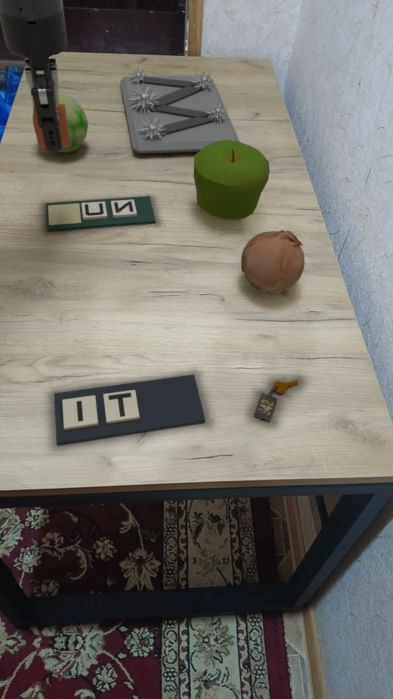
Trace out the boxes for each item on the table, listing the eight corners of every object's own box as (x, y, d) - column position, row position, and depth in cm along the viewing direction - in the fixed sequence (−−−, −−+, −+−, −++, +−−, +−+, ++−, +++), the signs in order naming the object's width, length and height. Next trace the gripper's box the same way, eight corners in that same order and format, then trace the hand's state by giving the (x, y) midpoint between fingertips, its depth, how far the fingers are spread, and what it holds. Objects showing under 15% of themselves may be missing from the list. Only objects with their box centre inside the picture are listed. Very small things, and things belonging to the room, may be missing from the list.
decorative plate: (240, 154, 99) (246, 120, 93) (133, 158, 95) (132, 122, 90) (211, 84, 116) (214, 51, 111) (120, 85, 113) (118, 51, 107)
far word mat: (47, 231, 81) (46, 225, 80) (46, 205, 85) (44, 199, 84) (155, 223, 84) (155, 217, 83) (149, 198, 88) (149, 192, 87)
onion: (275, 282, 81) (305, 228, 76) (292, 313, 74) (327, 256, 69) (224, 266, 78) (252, 208, 73) (237, 296, 71) (270, 234, 66)
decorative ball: (36, 162, 92) (25, 110, 84) (40, 134, 98) (30, 82, 90) (89, 163, 93) (83, 111, 85) (91, 135, 99) (85, 84, 91)
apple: (190, 228, 84) (194, 169, 75) (191, 186, 91) (195, 127, 82) (262, 232, 84) (275, 174, 75) (258, 190, 92) (269, 132, 83)
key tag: (267, 424, 61) (268, 422, 61) (247, 411, 62) (248, 409, 62) (299, 381, 66) (300, 379, 65) (279, 370, 67) (280, 367, 66)
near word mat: (57, 445, 58) (55, 440, 57) (54, 395, 62) (53, 390, 61) (205, 422, 61) (206, 417, 60) (193, 376, 65) (194, 371, 64)
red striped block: (38, 148, 70) (33, 120, 67) (38, 131, 72) (32, 104, 69) (70, 146, 71) (66, 119, 67) (68, 130, 73) (64, 103, 70)
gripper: (-2, -19, 61) (26, 115, 75) (-6, 27, 53) (27, 169, 67) (60, -19, 63) (76, 113, 76) (65, 27, 54) (83, 166, 68)
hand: (53, 138), depth 71 cm, fingers closed on red striped block, 4 cm apart
